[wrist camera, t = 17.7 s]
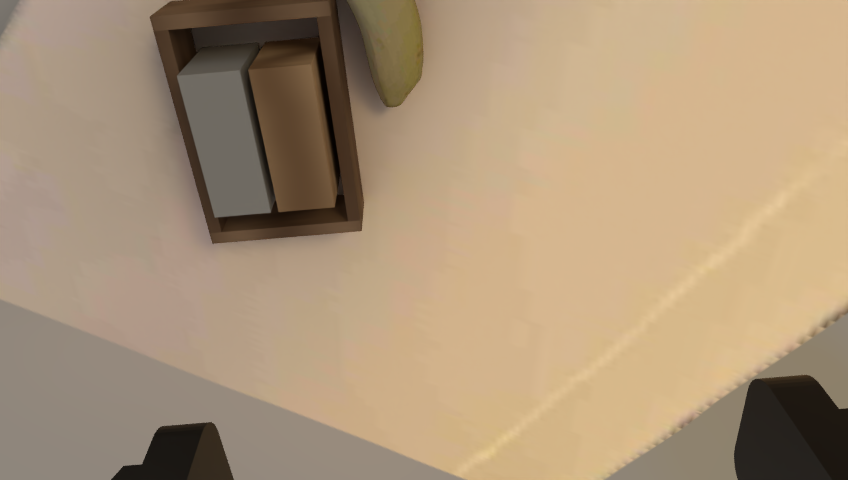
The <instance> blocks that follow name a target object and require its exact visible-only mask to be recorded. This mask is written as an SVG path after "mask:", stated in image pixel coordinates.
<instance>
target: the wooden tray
mask: <svg viewBox="0 0 848 480" xmlns="http://www.w3.org/2000/svg"><path fill="white" fill-rule="evenodd" d="M311 17H317V23H318V30H319V36H320V43H321V49H322V56H323V62H324V69H325V75H326V82H327V88H328V95H329V101H330V108H331V114H332V120H333V127H334V133H335V140H336V146H337V153H338V159H339V166H340V172H341V179H342V185H343V192H344V195H337V196H336V202H335V207H332V208H321V209H309V210H297V211H286V212H278V207H277V202H276V201H274V204H273V207H272V210H271V213H261V214H250V215H238V216H227V217H215V216H214V213H213V209H212V205H211V202H210V198H209V194H208V190H207V187H206V183H205V179H204V175H203V172H202V168H201V164H200V161H199V157H198V153H197V149H196V146H195V142H194V138H193V135H192V131H191V127H190V123H189V120H188V116H187V112H186V108H185V105H184V101H183V97H182V94H181V90H180V86H179V82H178V79H177V75H178V74H179V73H180V72H181V71H182V70H183V68H184V67H185V66H186V65H187V64H188V63H189V62H190V61H191V60H192V58H193V57H194V56H195V55H196V50H195V46H194V42H193V37H192V33H191V29H190V28H197V27H208V26H220V25H231V24H243V23H254V22H265V21H277V20H288V19H300V18H311ZM150 19H151V23H152V27H153V30H154V34H155V38H156V41H157V45H158V48H159V52H160V56H161V59H162V63H163V66H164V70H165V74H166V77H167V81H168V85H169V88H170V92H171V95H172V99H173V103H174V106H175V110H176V113H177V117H178V121H179V124H180V128H181V132H182V135H183V139H184V142H185V146H186V150H187V153H188V157H189V160H190V164H191V168H192V171H193V175H194V179H195V182H196V186H197V189H198V193H199V197H200V200H201V204H202V207H203V211H204V215H205V218H206V222H207V226H208V229H209V233H210V236H211V240H212V244H214V243H225V242H237V241H249V240H261V239H272V238H284V237H296V236H308V235H320V234H331V233H343V232H355V231H362V221H363V209H364V199H363V192H362V185H361V178H360V171H359V163H358V156H357V149H356V142H355V134H354V127H353V120H352V113H351V105H350V98H349V91H348V84H347V76H346V69H345V62H344V55H343V47H342V40H341V33H340V26H339V18H338V11H337V4H336V0H183V1H172V2H169V3H168V4H166V5H165V6H164V7H162V8H161V9H160V10H158V11H157V12H155V13H154V14H153V15H151V16H150Z"/></svg>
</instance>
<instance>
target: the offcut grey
mask: <svg viewBox="0 0 848 480" xmlns="http://www.w3.org/2000/svg"><path fill="white" fill-rule="evenodd" d="M259 52H260V51H259V46H258V43H247V44H236V45H225V46H213V47H202V49H201V50H200V51H199V52H198V53H197V54H196V55H195V56H194V57H193V58H192V60H191V61H190V62H189V63H188V64H187V65H186V66H185V67H184V68H183V70H182V71H181V72H180V73H179V74H178V75H177V79H178V82H179V86H180V90H181V94H182V97H183V101H184V105H185V108H186V112H187V116H188V120H189V123H190V127H191V131H192V135H193V138H194V142H195V146H196V149H197V153H198V157H199V161H200V164H201V168H202V172H203V175H204V179H205V183H206V187H207V190H208V194H209V198H210V202H211V205H212V209H213V213H214V216H215V217H227V216H238V215H250V214H261V213H271V210H272V207H273V204H274V201H275V198H276V197H275V193H274V188H273V183H272V179H271V174H270V169H269V165H268V160H267V155H266V151H265V146H264V141H263V137H262V132H261V127H260V123H259V118H258V113H257V109H256V104H255V99H254V95H253V90H252V85H251V80H250V76H249V71H248V69H249V68H250V66H251V65H252V63H253V61H254V60H255V58H256V57H257V55H258V53H259Z"/></svg>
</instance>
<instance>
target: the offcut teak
mask: <svg viewBox="0 0 848 480" xmlns="http://www.w3.org/2000/svg"><path fill="white" fill-rule="evenodd" d="M248 71H249V76H250V80H251V85H252V90H253V95H254V99H255V104H256V109H257V113H258V118H259V123H260V127H261V132H262V137H263V141H264V146H265V151H266V155H267V160H268V165H269V169H270V174H271V179H272V183H273V188H274V193H275V197H276V202H277V207H278V212H286V211H297V210H309V209H321V208H332V207H335V202H336V196H337V190H338V184H339V177H340V166H339V159H338V153H337V146H336V140H335V133H334V127H333V120H332V114H331V108H330V101H329V95H328V88H327V82H326V75H325V69H324V62H323V56H322V49H321V43H320V37H316V38H305V39H293V40H282V41H271V42H265V44H264V45H263V47H262V49H261V50H260V52H259V53H258V55H257V57H256V58H255V60H254V61H253V63H252V65H251V66H250V68H249V69H248Z"/></svg>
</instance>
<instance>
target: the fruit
mask: <svg viewBox="0 0 848 480" xmlns="http://www.w3.org/2000/svg"><path fill="white" fill-rule="evenodd" d="M346 1H347V3H348V4H349V6H350V8H351V10H352V12H353V14H354V16H355V18H356V21H357V23H358V26H359V28H360V30H361V33H362V37H363V41H364V46H365V50H366V54H367V59H368V63H369V67H370V71H371V75H372V78H373V81H374V84H375V87H376V89H377V91H378V93H379V96H380V98H381V100H382V101H383V103H384V104H385V106H387V107H397V106H399V105H401V104H402V102H403V101H404V100H405V98H406V97H407V96H408V94H409V93H410V92H411V90H412V89H413V88H414V87H415V85H416V84H417V83H418V81H419V80H420V78H421V75H422V66H423V39H422V28H421V22H420V17H419V13H418V10H417V6H416V3H415V0H346Z"/></svg>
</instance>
